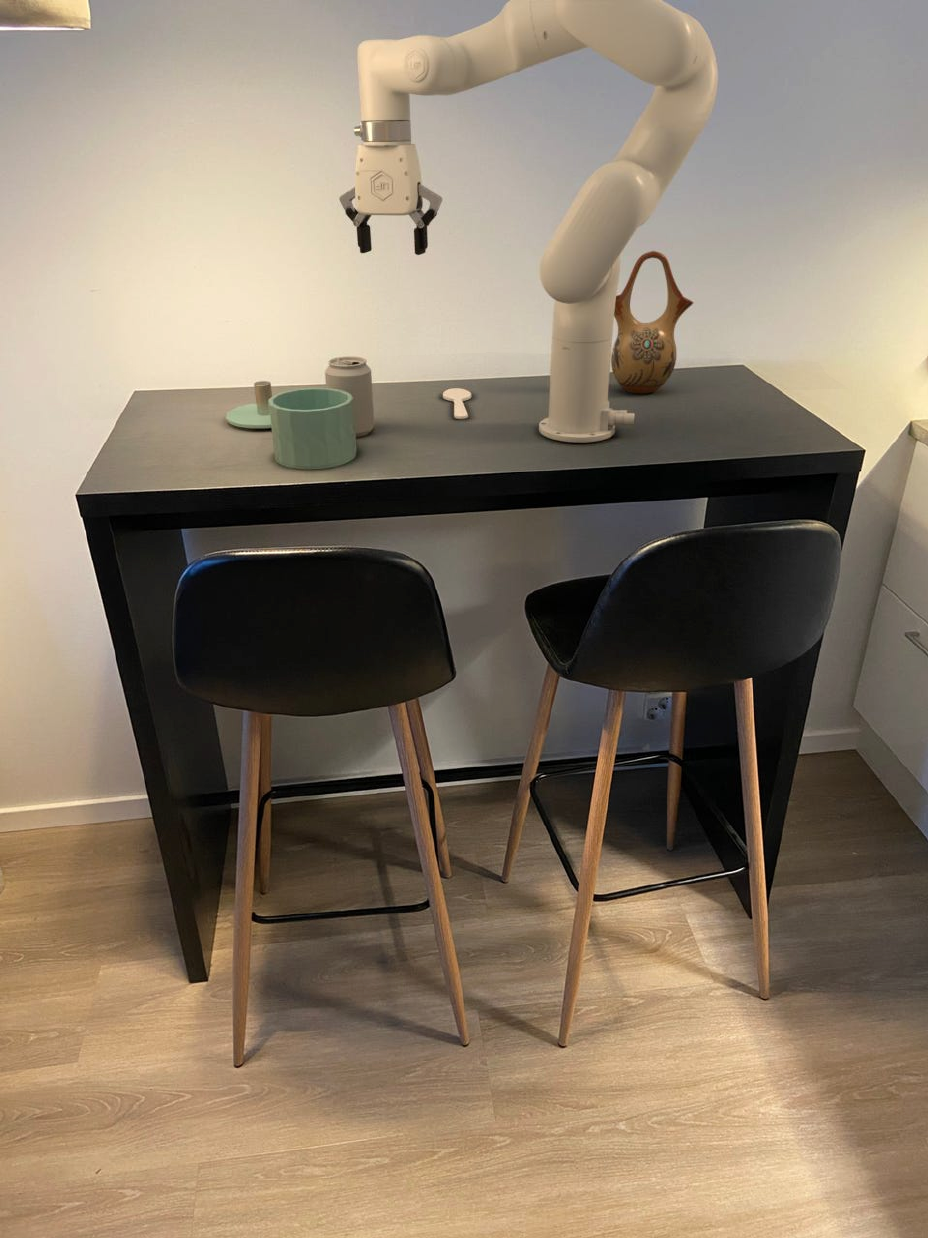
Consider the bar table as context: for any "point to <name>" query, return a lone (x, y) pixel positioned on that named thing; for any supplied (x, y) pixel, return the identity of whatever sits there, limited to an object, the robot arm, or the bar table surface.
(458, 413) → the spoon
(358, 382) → the can
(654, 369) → the ceramic vessel
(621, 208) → the robot arm
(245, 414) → the pot lid
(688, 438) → the bar table surface
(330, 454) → the pot
